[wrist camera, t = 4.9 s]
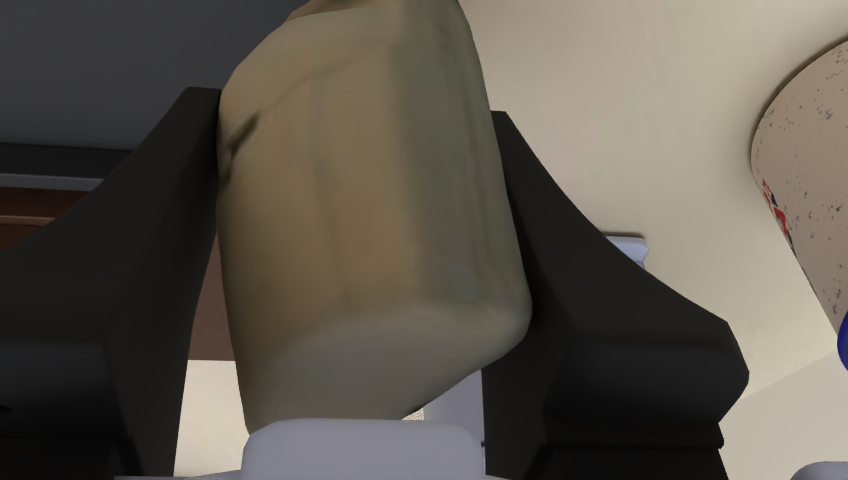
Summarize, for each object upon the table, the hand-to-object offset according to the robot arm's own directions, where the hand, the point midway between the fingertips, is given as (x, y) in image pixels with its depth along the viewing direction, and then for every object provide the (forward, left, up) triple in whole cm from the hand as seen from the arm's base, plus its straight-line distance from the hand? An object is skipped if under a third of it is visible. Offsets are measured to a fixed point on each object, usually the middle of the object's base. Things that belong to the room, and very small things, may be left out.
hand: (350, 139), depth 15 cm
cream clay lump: (0, 0, -2) cm, 2 cm away
